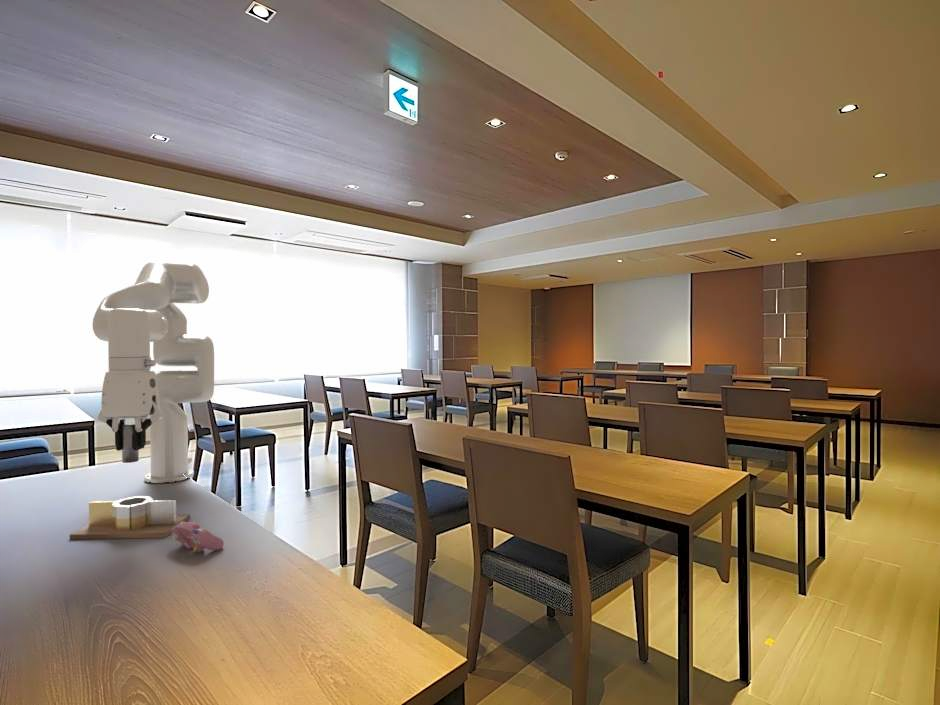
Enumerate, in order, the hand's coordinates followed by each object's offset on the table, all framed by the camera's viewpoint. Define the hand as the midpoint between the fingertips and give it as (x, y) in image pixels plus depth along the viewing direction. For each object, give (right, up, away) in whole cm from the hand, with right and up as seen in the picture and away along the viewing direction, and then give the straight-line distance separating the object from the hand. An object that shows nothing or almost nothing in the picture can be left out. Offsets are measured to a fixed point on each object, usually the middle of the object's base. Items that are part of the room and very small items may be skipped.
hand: (130, 448), depth 111 cm
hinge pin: (0, -3, 0) cm, 3 cm away
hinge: (0, -18, 0) cm, 18 cm away
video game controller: (+20, -19, -10) cm, 29 cm away
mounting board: (0, -18, 0) cm, 18 cm away
